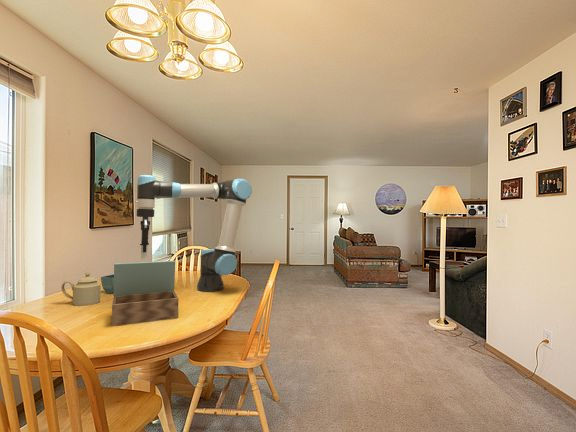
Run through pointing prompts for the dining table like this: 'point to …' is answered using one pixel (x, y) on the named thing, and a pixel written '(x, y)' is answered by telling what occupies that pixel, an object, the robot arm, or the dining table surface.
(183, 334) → the dining table surface
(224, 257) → the robot arm
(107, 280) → the flower pot
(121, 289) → the lid
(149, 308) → the walnut box
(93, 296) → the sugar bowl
